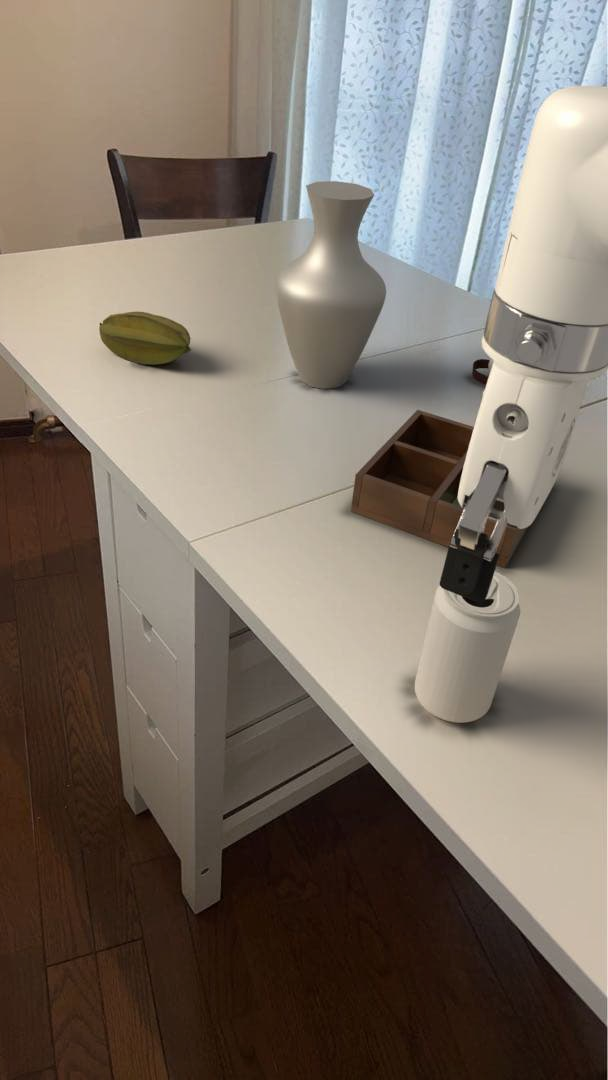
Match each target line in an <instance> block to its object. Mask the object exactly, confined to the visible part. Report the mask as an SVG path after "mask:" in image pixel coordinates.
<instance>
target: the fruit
mask: <svg viewBox="0 0 608 1080" xmlns="http://www.w3.org/2000/svg"><path fill="white" fill-rule="evenodd" d="M98 330H99V336H100V340H101V342H102V343H103V344H104V345H105V347H106V348H107V349H108V350H109V351H110V352H111V353H113V354H114V355H116V356H118V357H120V358H121V359H124V360H126V361H128V362H132V363H136V364H139V365H151V366H155V365H163V364H168V363H171V362H174V361H175V360H176V359H178V358H180V357H181V356H183V355H186V354H188V353H189V352H191V350H192V348H191V347H190V345H191V339H192V338H191V336H190V332H189V331H188V330H187V328H186V327H185V326H184V325H183V324H181V323H179V322H176V321H175V320H173V319H170V318H168V317H165V316H161V315H157V314H153V313H149V312H145V311H128V312H122V313H114V314H110V315H109V316H107V317H106V318H104V319H103V320H102V322H99V327H98Z"/></svg>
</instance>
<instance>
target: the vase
mask: <svg viewBox="0 0 608 1080" xmlns="http://www.w3.org/2000/svg"><path fill="white" fill-rule="evenodd" d="M305 188H306V192H307V195H308V200H309V204H310V208H311V209H310V210H311V213H312V214H311V215H312V219H313V235H312V238H311V241H310V243H309V244H308V246H307V248H306V250H305V252H303V253H302V254H301V255H300V256H298V257H296V258H295V259H294V260H291V261H290V262H288V264H286V265H285V266H284V267H283V268H282V269H280V271H279V272H278V273H277V276H276V279H275V290H274V291H275V296H276V297H275V298H276V303H277V307H278V311H279V316H280V319H281V324H282V327H283V331H284V336H285V339H286V344H287V346H288V349H289V352H290V356H291V359H292V361H293V364H294V367H295V370H296V373H297V376H298V377H299V381H300V382H301V383H303V384H305V385H307V386H308V387H311V388H316V389H322V390H328V389H336V388H337V389H338V388H340V387H342V385H344V384H345V383H347V381H348V379H349V376H350V375H351V374H352V371H353V369H354V368H355V367H356V364H357V363H358V362H359V359H360V357H361V355H362V353H363V351H364V350H365V348H366V345H367V344H368V341H369V339H370V337H371V335H372V332H373V330H374V328H375V326H376V324H377V321H378V320H379V317H380V315H381V313H382V309H383V307H384V304H385V301H386V297H387V296H386V295H387V286H386V283H385V281H384V279H383V277H382V276H381V275H380V273H379V272H378V271H377V270H376V269H375V268H374V267H372V266H371V265H370V264H369V263H368V261H366V260H365V258H364V257H363V254H362V251H361V249H360V245H359V230H360V227H361V223H362V221H363V219H364V216H365V214H366V212H367V209H368V208H369V206H370V204H371V202H372V201H373V199H374V197H375V193H374V192H373V190H372V188H369V187H366V186H364V185H360V184H359V183H352V182H345V181H339V180H338V181H337V180H332V181H331V180H329V181H315V182H312V183H309V184H306V185H305Z"/></svg>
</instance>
